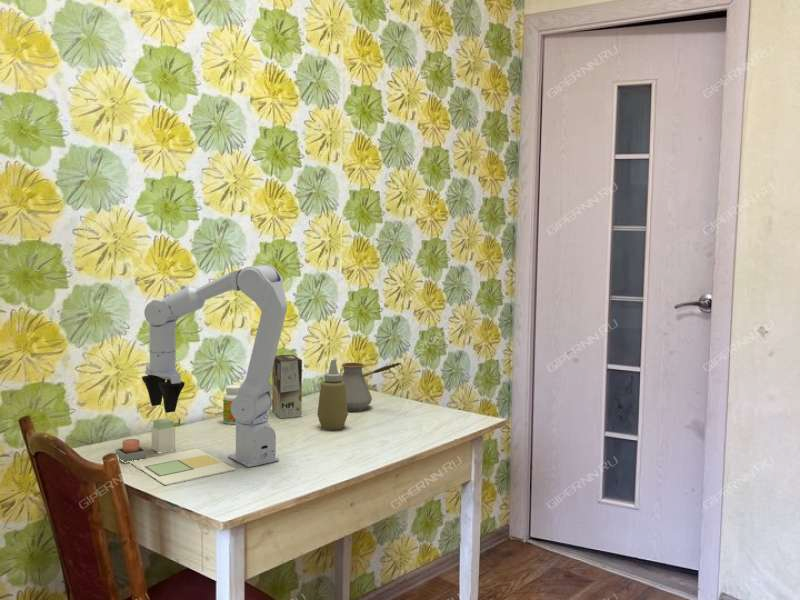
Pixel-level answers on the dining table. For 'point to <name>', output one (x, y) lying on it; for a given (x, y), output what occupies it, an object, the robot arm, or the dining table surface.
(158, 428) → the beige boxy piece
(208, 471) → the paper board
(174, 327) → the robot arm
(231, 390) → the supplement bottle
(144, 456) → the button housing
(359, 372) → the coffee pot
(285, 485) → the dining table surface
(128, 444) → the button
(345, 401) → the squeeze bottle
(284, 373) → the coffee box
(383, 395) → the dining table surface
